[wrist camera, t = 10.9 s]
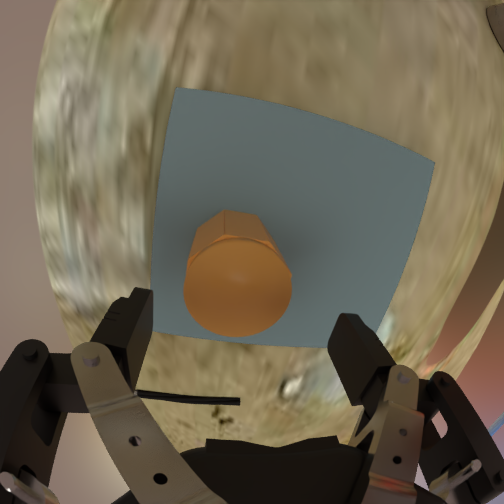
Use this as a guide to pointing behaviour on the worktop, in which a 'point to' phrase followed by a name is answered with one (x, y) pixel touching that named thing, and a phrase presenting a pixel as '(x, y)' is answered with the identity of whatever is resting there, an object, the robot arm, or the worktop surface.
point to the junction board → (287, 209)
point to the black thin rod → (187, 398)
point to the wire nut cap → (236, 276)
